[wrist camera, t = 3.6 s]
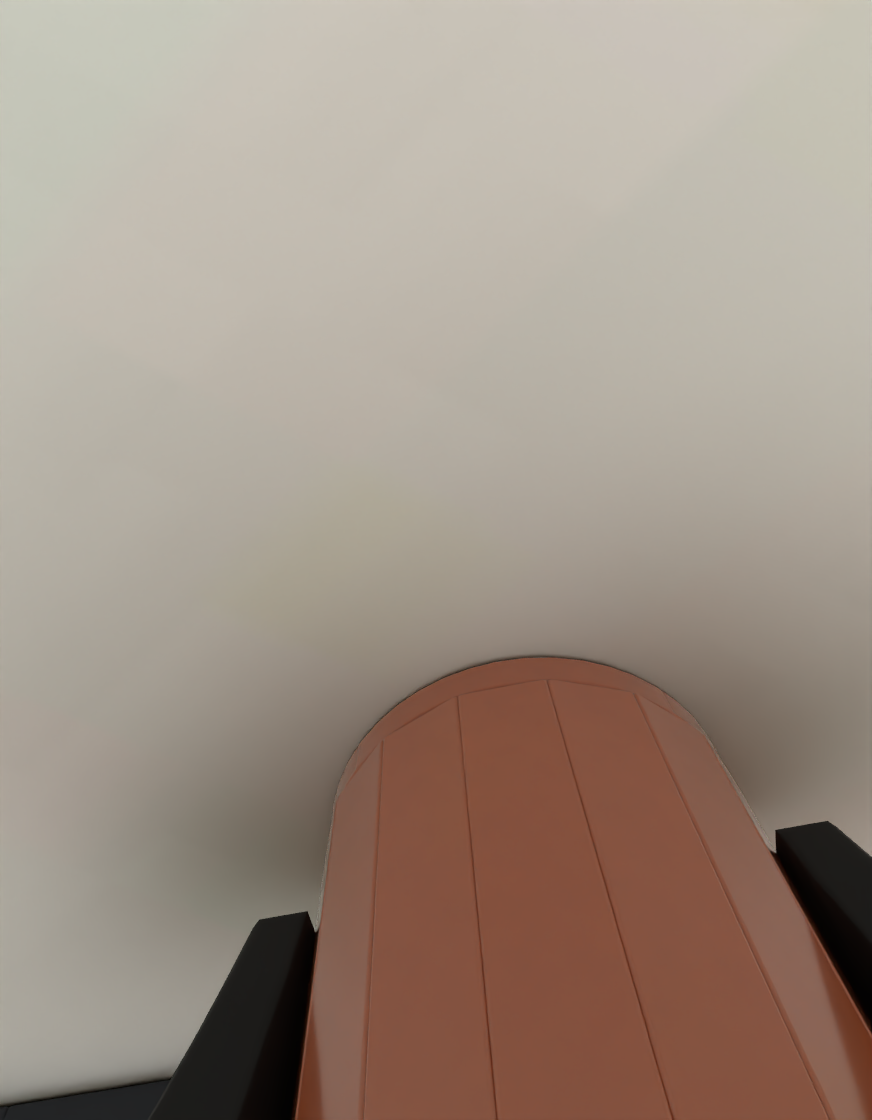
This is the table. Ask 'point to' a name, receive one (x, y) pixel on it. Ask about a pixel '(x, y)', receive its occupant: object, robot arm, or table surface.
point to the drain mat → (93, 1105)
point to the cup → (564, 921)
